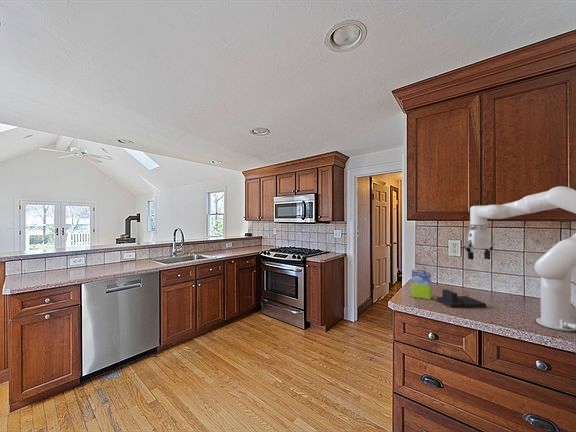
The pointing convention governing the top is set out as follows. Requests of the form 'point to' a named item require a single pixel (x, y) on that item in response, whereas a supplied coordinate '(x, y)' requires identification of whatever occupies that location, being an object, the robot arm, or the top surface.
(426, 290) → the box
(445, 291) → the pad
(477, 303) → the base pad
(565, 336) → the top surface
